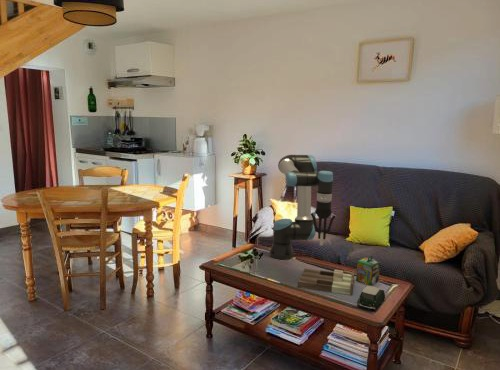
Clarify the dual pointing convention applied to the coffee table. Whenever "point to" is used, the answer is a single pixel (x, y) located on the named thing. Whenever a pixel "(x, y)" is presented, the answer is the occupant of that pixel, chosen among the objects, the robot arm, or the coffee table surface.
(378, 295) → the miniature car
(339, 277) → the birch block
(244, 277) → the coffee table surface
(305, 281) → the brown striped flat block
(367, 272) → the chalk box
